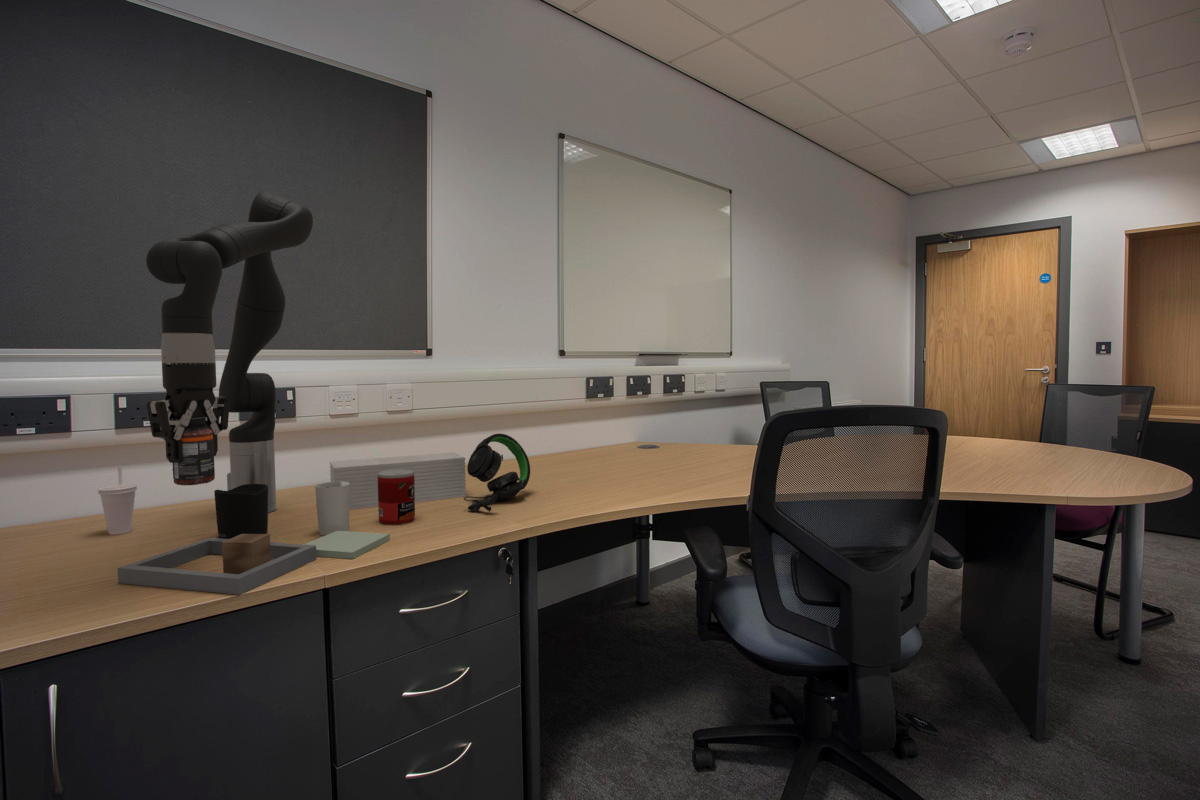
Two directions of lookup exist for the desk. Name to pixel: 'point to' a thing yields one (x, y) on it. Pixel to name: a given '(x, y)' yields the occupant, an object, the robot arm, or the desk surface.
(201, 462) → the supplement bottle
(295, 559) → the parts tray
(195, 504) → the desk surface
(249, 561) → the walnut block
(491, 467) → the headset
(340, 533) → the green board
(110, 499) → the smoothie
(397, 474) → the canned food
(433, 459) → the grey ridged block
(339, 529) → the grey cup
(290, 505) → the desk surface
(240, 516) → the pen holder
